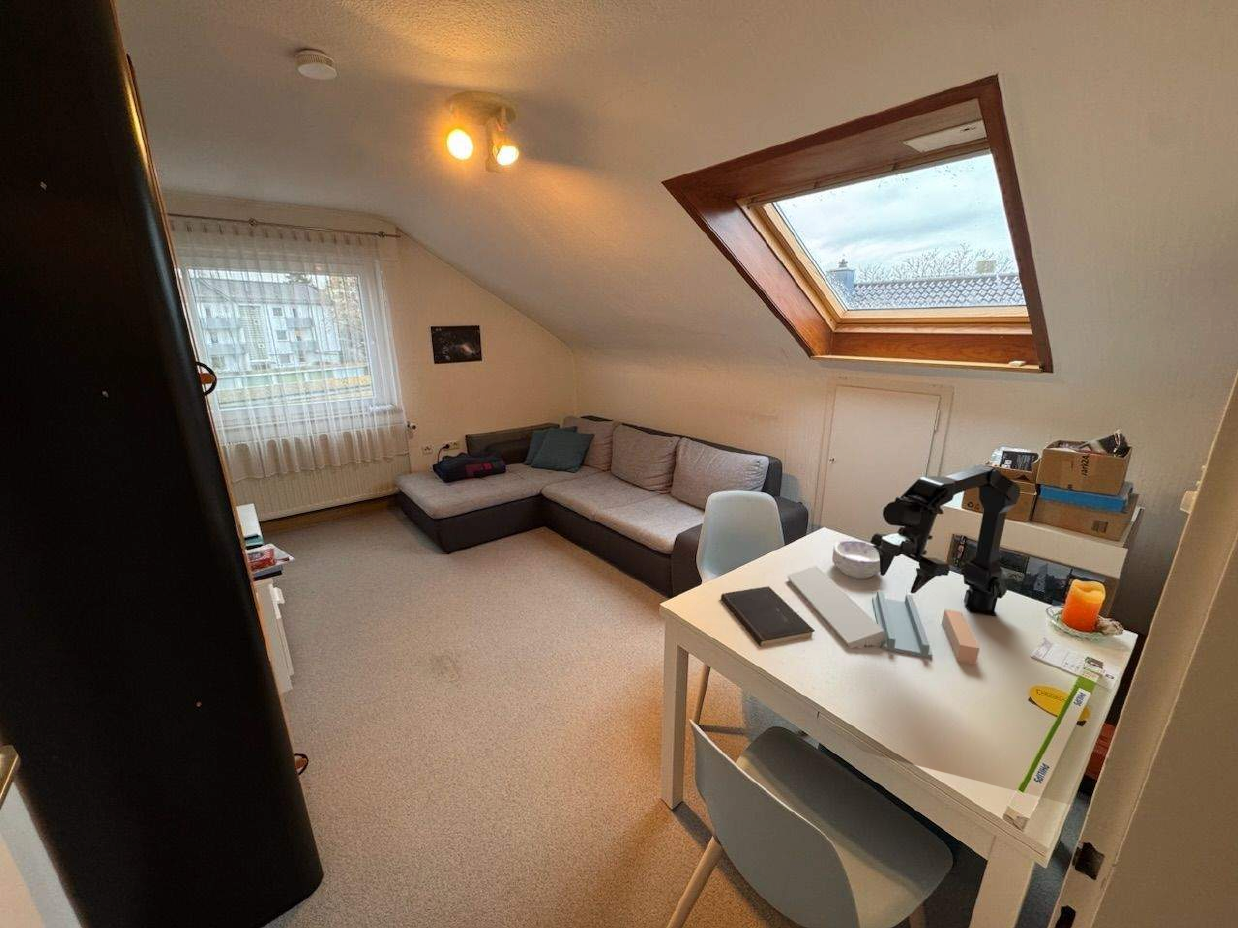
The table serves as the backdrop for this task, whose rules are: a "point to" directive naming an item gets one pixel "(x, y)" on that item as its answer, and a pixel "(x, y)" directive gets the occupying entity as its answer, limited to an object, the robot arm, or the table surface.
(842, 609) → the light grey long wedge
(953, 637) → the clay strip
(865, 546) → the white purple speckled bowl
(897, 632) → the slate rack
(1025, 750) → the table surface
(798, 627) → the hardcover book
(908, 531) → the robot arm
